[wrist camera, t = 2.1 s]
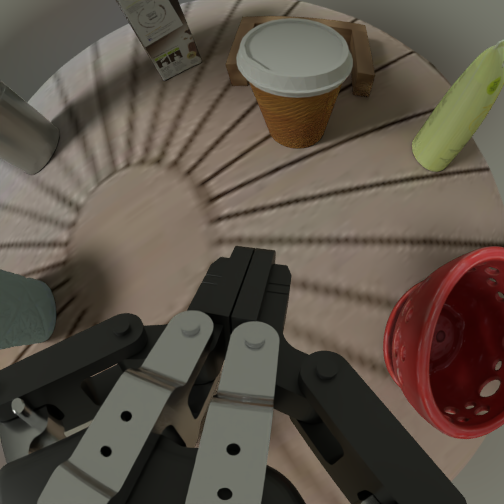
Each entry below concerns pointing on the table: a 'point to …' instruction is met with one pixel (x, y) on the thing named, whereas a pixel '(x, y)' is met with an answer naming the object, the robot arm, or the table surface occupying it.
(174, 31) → the coffee box
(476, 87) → the tube
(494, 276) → the plant pot
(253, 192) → the table surface
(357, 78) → the dock
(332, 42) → the disposable coffee cup
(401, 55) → the table surface
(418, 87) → the table surface
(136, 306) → the table surface
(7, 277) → the teal tapered cup
